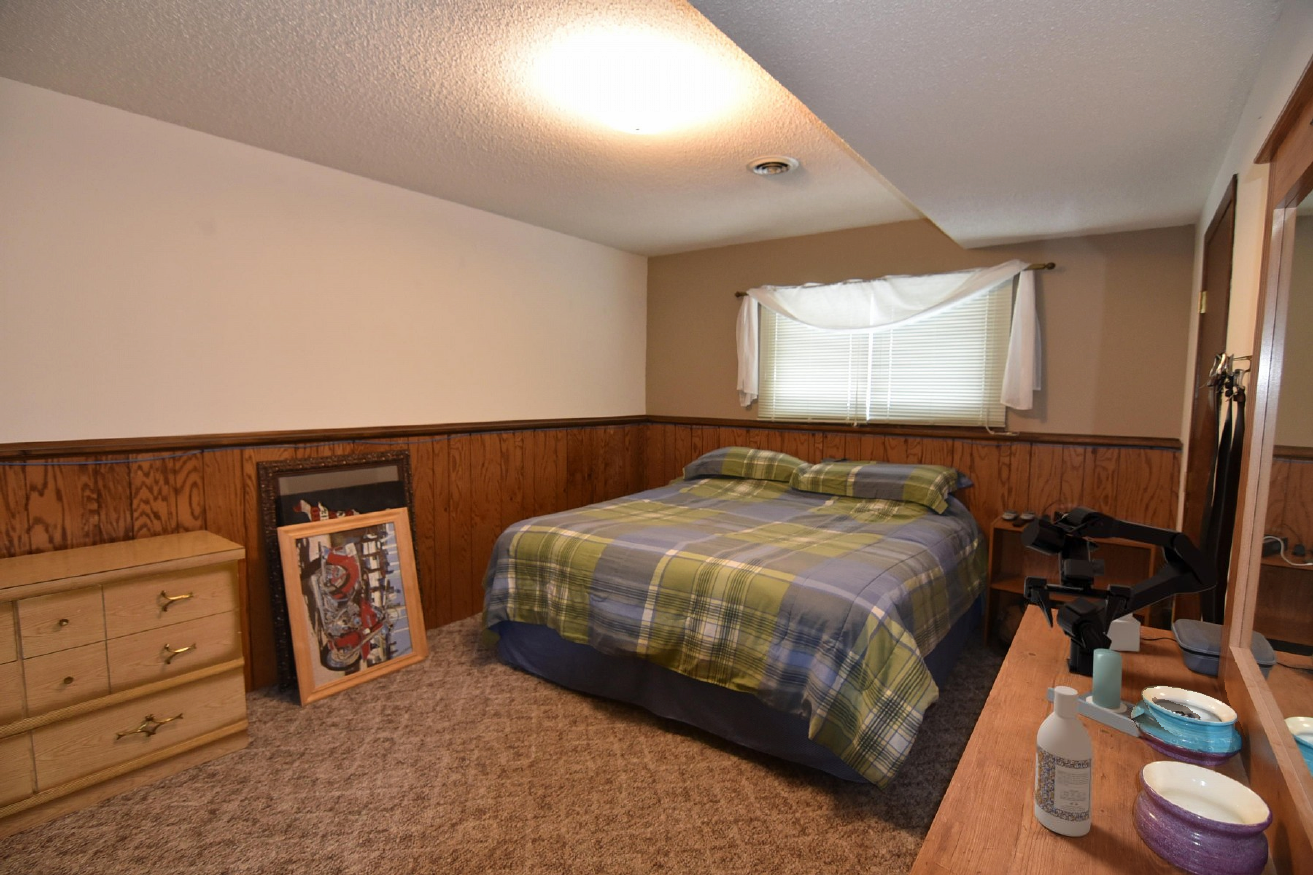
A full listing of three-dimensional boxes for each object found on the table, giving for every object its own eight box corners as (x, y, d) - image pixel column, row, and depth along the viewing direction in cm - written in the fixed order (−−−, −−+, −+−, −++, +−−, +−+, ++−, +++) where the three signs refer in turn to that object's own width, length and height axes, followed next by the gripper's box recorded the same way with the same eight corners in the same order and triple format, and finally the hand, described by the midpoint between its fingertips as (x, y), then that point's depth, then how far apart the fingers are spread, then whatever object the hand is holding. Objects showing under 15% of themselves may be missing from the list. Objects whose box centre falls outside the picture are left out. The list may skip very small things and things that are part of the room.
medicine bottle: (1140, 652, 151) (1142, 601, 150) (1105, 650, 153) (1107, 600, 151) (1124, 640, 158) (1126, 591, 157) (1091, 638, 160) (1093, 590, 158)
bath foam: (1039, 800, 100) (1043, 674, 98) (1093, 819, 95) (1098, 688, 94) (1029, 824, 95) (1033, 692, 93) (1086, 845, 90) (1091, 707, 88)
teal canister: (1088, 696, 129) (1089, 647, 128) (1113, 698, 128) (1116, 649, 127) (1097, 707, 124) (1099, 657, 123) (1124, 710, 123) (1126, 659, 122)
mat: (1068, 705, 128) (1068, 699, 128) (1093, 693, 132) (1094, 688, 132) (1119, 726, 120) (1119, 720, 120) (1144, 713, 124) (1144, 707, 124)
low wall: (1046, 699, 130) (1047, 687, 130) (1049, 698, 131) (1049, 686, 130) (1137, 737, 116) (1137, 724, 116) (1139, 736, 117) (1139, 722, 116)
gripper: (1026, 538, 138) (1027, 605, 129) (1134, 546, 129) (1143, 619, 121) (1023, 564, 146) (1024, 629, 137) (1125, 574, 137) (1133, 644, 128)
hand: (1078, 630), depth 130 cm, fingers open, 9 cm apart
